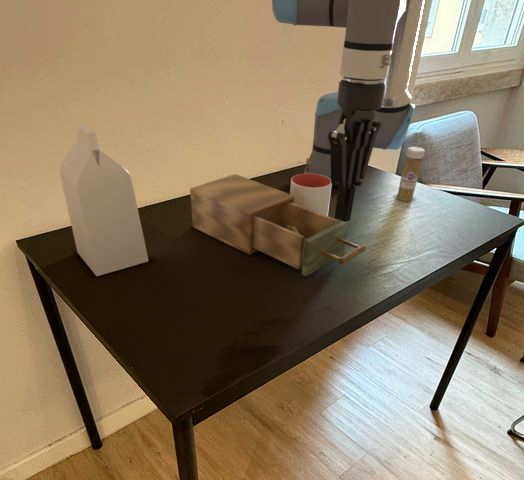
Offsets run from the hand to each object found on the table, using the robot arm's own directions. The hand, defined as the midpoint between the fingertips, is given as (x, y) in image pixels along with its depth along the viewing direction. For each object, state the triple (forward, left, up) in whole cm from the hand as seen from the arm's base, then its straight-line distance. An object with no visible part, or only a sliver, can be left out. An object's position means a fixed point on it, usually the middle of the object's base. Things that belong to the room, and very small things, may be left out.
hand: (342, 218), depth 88 cm
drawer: (-1, -8, -11) cm, 14 cm away
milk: (+24, -42, -12) cm, 50 cm away
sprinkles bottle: (-50, -5, -12) cm, 51 cm away
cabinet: (-4, -28, -12) cm, 31 cm away
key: (-1, -10, -9) cm, 14 cm away
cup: (-20, -19, -12) cm, 30 cm away
